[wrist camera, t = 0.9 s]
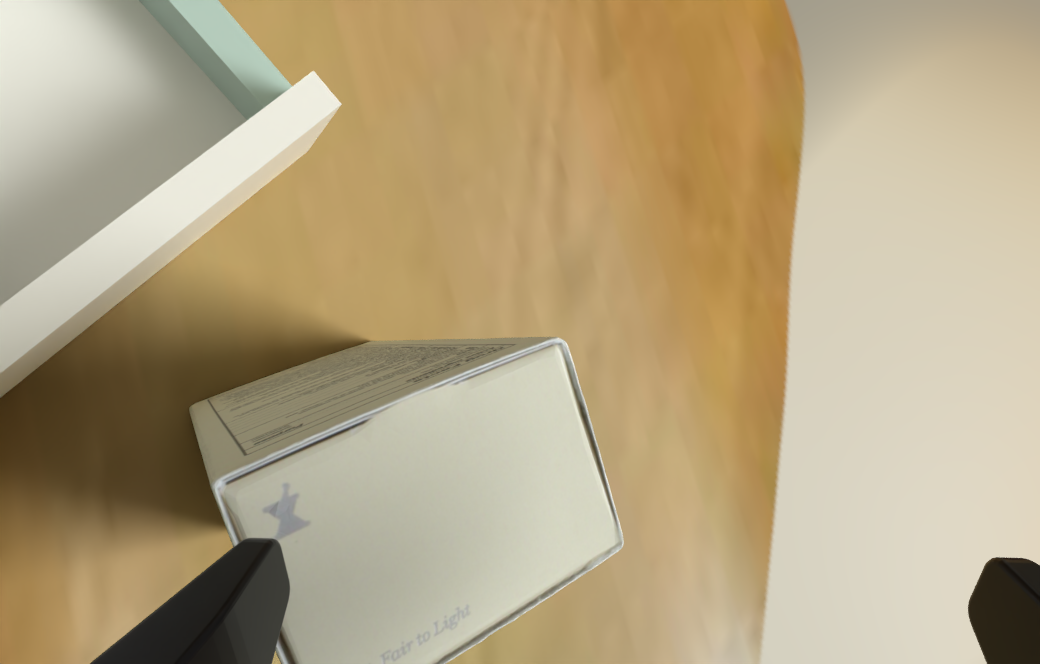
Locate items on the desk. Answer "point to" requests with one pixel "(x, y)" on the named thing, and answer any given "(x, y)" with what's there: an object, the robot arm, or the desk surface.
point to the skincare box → (413, 491)
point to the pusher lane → (126, 152)
